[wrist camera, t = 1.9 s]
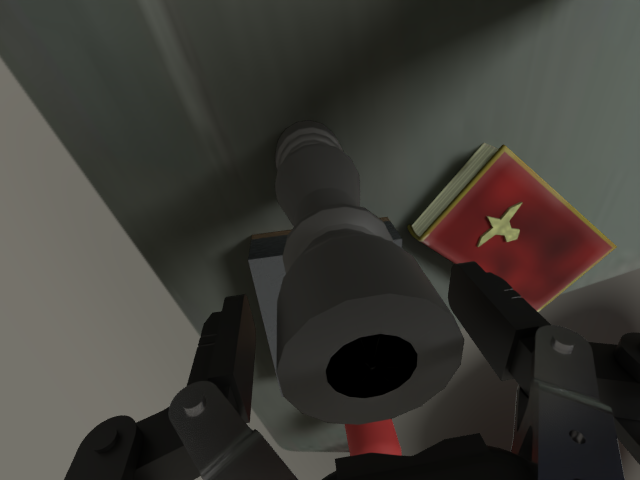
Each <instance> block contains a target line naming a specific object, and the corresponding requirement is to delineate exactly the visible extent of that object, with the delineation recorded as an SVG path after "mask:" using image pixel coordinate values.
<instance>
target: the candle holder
mask: <svg viewBox="0 0 640 480" xmlns="http://www.w3.org/2000/svg"><path fill="white" fill-rule="evenodd" d="M275 163H276V168H277V177H276V181H275V191H276V196H277V201H278V204H279V205H280V207H281V208H282V210H283V211H284V212H285V214H286V215H287V217H288V219H289V220H290V222H291V223H292V225H293V226H294V228H293V229H292V230H291V231H290V233H289V234H288V236H287V240H286V244H285V247H284V251H283V263H284V267H285V272H286V275H285V276H284V277H283V281H282V285H281V288H280V292H279V296H278V299H277V361H276V373H277V376H278V380H279V383H280V387H281V390H282V394H283V396H284V397H285V398H286V399H287V400H288V401H289V402H290V403H291V404H292V405H293V406H294V407H296V408H297V409H298V410H299V411H300V412H301V413H302V414H305V415H308V416H311V417H313V418H316V419H319V420H322V421H324V422H327V423H337V424H355V425H361V424H366V423H372V422H377V421H383V420H388V419H392V418H395V417H397V416H399V415H402V414H404V413H406V412H408V411H411V410H413V409H415V408H418V407H420V406H422V405H423V404H424V403H425V402H427V401H428V400H429V399H431V398H432V397H433V396H435V395H436V394H437V393H439V392H440V391H441V390H443V389H444V388H445V387H446V385H447V384H448V382H449V381H450V379H451V378H452V376H453V375H454V374H455V372H456V371H457V369H458V368H459V366H460V365H461V359H462V351H463V345H464V338H463V336H462V333H461V331H460V329H459V327H458V325H457V323H456V321H455V318H454V316H453V315H452V313H451V312H450V310H449V309H448V307H447V306H446V304H445V303H444V302H443V300H442V299H441V297H440V296H439V294H438V293H437V291H436V290H435V288H434V287H433V285H432V284H431V282H430V281H429V279H428V278H427V276H426V275H425V273H424V272H423V270H422V269H421V267H420V266H419V265H418V263H417V262H416V260H415V259H414V257H413V256H412V255H411V254H409V253H408V252H406V251H405V250H403V249H402V248H401V247H399V246H398V245H396V244H395V243H394V242H393V239H392V237H391V235H390V233H389V232H388V230H387V228H386V226H385V224H384V222H383V221H382V220H381V219H379V218H378V217H377V216H375V215H374V214H373V213H371V212H370V211H368V210H367V209H366V208H363V207H360V180H359V173H358V171H357V169H356V167H355V165H354V163H353V161H352V160H351V158H350V157H349V156H348V155H346V154H345V153H344V151H343V149H342V147H341V145H340V143H339V141H338V139H337V138H336V136H335V135H334V134H333V132H332V131H331V130H329V129H328V128H327V127H326V126H324V125H323V124H322V123H318V122H314V121H311V120H307V121H301V122H296V123H294V124H293V125H291V126H290V127H288V128H286V129H285V131H284V132H283V133H282V135H281V136H280V138H279V139H278V143H277V148H276V153H275Z"/></svg>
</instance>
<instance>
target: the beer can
mask: <svg viewBox="0 0 640 480" xmlns="http://www.w3.org/2000/svg"><path fill="white" fill-rule="evenodd" d="M345 429H346V434H347V440H348V445H349V451H350V456H354V455H359V454H365V453H371V452H372V453H382V454H391V455H401V448H400V445H399V442H398V438H397V435H396V432H395V429H394V426H393V422H392V419H388V420H383V421H377V422H372V423H366V424H361V425H355V424H345ZM401 456H402V455H401Z"/></svg>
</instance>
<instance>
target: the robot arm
mask: <svg viewBox="0 0 640 480" xmlns="http://www.w3.org/2000/svg"><path fill="white" fill-rule="evenodd" d="M448 301H449V305H450V307H451V310H452V311H453V313H454V314H455V316H456V317H457V318H458V320H459V321H460V323H461V324H462V326H463V327H464V328H465V330H466V331H467V333H468V334H469V336H470V337H471V338H472V340H473V341H474V343H475V344H476V345H477V347H478V348H479V350H480V351H481V353H482V354H483V356H484V357H485V358H486V360H487V361H488V362H489V364H490V366H491V367H492V368H493V370H494V371H495V373H496V374H497V375H498V377H499V378H500V380H501V381H504V380H509V379H515V380H516V381H517V382H518V384H519V385H518V388H517V395H516V396H517V397H516V409H515V421H514V422H515V423H514V435H513V443H512V448H511V452H510V451H507V450H504V449H501V448H497V447H493V446H488V445H486V444H485V442H484V440H483V438H482V437H481V435H480V433H477V434H472V435H466V436H460V437H455V438H449V439H444V440H442V441H441V442H439V443H437V444H435V445H433V446H431V447H429V448H427V449H425V450H424V451H422V452H420V453H418V454H416V455H414V456H401V455H391V454H382V453H372V452H371V453H365V454H359V455H354V456H349V457H343V458H338V459H335V463H336V471H335V472H333V473H331V474H329V475H328V476H326V477H325V478H323V479H322V480H625V479H624V474H623V468H622V462H621V457H620V451H619V446H618V440H617V438H618V439H619V440H620V442H621V443H622V444H623V445H624V447H625V448H626V449H627V450H628V451H629V452H630V453H631V455H632V456H633V457H634V458H635V460H636V461H637V462H638V463H639V464H640V333H627V334H625V335H623V336H622V337H621V339H620V341H619V343H618V345H613V344H603V343H593V342H588V341H587V340H586V339H585V338H583V337H582V336H581V335H579V334H578V333H576V332H574V331H572V330H570V329H567V328H565V327H561V326H555V325H551V324H550V323H549V322H547V321H546V320H545V319H544V318H543V317H542V316H541V315H540V314H539V313H538V312H537V311H536V310H535V309H534V308H533V307H532V306H531V305H530V304H529V303H528V302H527V301H526V300H525V299H524V298H521V295H520V294H519V293H517V292H516V291H515V290H513V288H512V287H511V286H510V285H509V284H508V283H507V282H506V281H505V280H504V279H502V278H501V277H499V276H497V275H495V274H493V273H491V272H487V273H486V272H485V271H484V270H483V269H482V268H481V267H480V266H479V265H478V264H477V263H476V262H474V261H471V262H464V263H458V264H454V265H453V266H452V269H451V277H450V284H449V292H448ZM255 346H256V331H255V325H254V321H253V317H252V313H251V309H250V305H249V302H248V298H247V295H246V294H243V295H236V296H229V297H225V300H224V304H223V309H222V311H221V312H214V313H212V314H211V315H210V317H209V318H208V319H207V321H206V322H205V323H204V326H203V329H202V333H201V338H200V340H199V344H198V348H197V351H196V355H195V358H194V362H193V365H192V369H191V373H190V376H189V380H188V383H187V386H186V387H185V388H183V389H182V390H181V391H180V392H179V393H178V394H177V395H176V396H175V397H174V399H173V400H172V402H171V404H170V406H169V407H168V408H166V409H165V410H163V411H161V412H159V413H157V414H155V415H152V416H150V417H148V418H146V419H143V420H141V421H139V422H137V423H135V421H134V420H133V419H132V418H131V417H129V416H116V417H112V418H110V419H107V420H106V421H104V422H102V423H100V424H99V425H98V426H96V427H95V428H94V429H93V430H92V431H91V432H90V433H89V434H88V435H87V436H86V437H85V439H84V440H83V441H82V443H81V444H80V446H79V448H78V450H77V452H76V455H75V457H74V459H73V461H72V463H71V466H70V468H69V470H68V472H67V474H66V477H65V479H64V480H194V479H196V478H198V477H199V476H201V477H202V479H203V480H298V479H297V477H296V476H295V475H294V474H293V473H292V471H291V470H290V469H289V468H288V466H287V465H286V464H285V463H284V461H283V460H282V459H281V458H280V457H279V455H278V454H277V453H276V452H275V450H273V448H272V447H271V446H270V444H269V443H268V442H267V441H266V439H265V438H264V437H263V436H262V435H261V434H260V433H259V432H258V431H257V430H251V429H250V427H249V426H248V425H247V424H246V423H249V422H250V412H251V399H252V386H253V372H254V359H255Z"/></svg>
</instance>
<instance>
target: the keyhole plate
mask: <svg viewBox="0 0 640 480" xmlns="http://www.w3.org/2000/svg"><path fill="white" fill-rule="evenodd" d="M379 219H381V220H382V221H383V222H384V224H385V226H386V228H387V230H388V232H389V233H390V235H391V237H392V239H393V242H394V243H395V244H396V245H398V246H399V247H401V248H402V238H401V236H400V235H399V233H398V232H397V230H396V229H395V227H394V226H393V224H392V223H391V222H390V220H389V219H388V217H382V218H379ZM290 231H291V230H285V231H278V232H271V233H263V234H256V235H252V238H251V244H250V251H249V258H248V262H249V266H250V270H251V274H252V278H253V282H254V286H255V290H256V294H257V298H258V302H259V306H260V311H261V315H262V319H263V323H264V327H265V331H266V335H267V339H268V343H269V347H270V351H271V355H272V359H273V364H274V368H275V372H276V361H277V299H278V296H279V292H280V288H281V285H282V281H283V277H284V276H285V275H286V272H285V267H284V263H283V251H284V247H285V244H286V240H287V236H288V234H289V233H290ZM276 376H277V373H276ZM277 380H278V376H277ZM278 384H279V388H280V392H281V396H282V397H283V394H282V390H281V387H280V383H279V380H278Z"/></svg>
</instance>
